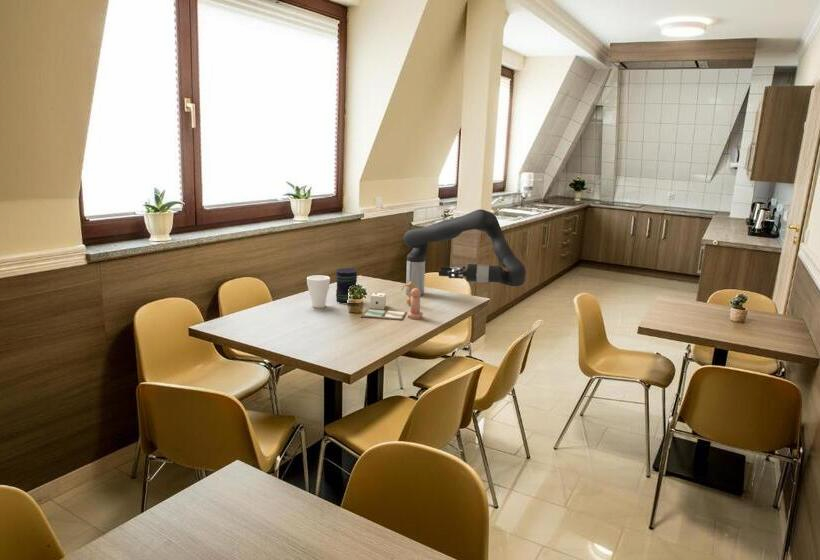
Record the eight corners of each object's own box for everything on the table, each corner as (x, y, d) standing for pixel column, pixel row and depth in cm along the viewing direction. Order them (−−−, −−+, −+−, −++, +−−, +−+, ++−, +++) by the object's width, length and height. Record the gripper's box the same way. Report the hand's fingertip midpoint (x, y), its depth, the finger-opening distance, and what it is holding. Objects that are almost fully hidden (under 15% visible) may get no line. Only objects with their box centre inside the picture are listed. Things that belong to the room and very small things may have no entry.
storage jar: (340, 297, 289) (340, 267, 286) (359, 299, 287) (359, 269, 284) (332, 302, 280) (332, 271, 277) (352, 304, 278) (352, 273, 274)
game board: (366, 310, 269) (366, 308, 269) (406, 312, 266) (406, 311, 266) (360, 317, 258) (360, 315, 257) (402, 320, 255) (402, 318, 255)
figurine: (419, 304, 281) (420, 279, 279) (418, 307, 276) (418, 282, 273) (402, 303, 283) (403, 278, 280) (400, 306, 277) (401, 281, 274)
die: (373, 305, 278) (373, 292, 276) (385, 306, 277) (386, 293, 275) (370, 308, 272) (370, 295, 270) (383, 309, 271) (383, 296, 270)
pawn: (408, 314, 264) (409, 286, 261) (423, 315, 263) (424, 286, 260) (406, 318, 257) (407, 289, 254) (421, 319, 256) (422, 290, 254)
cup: (322, 310, 267) (322, 281, 264) (302, 307, 270) (302, 278, 267) (334, 304, 276) (334, 276, 273) (314, 302, 280) (314, 274, 277)
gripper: (478, 261, 257) (441, 259, 260) (477, 267, 244) (438, 265, 246) (478, 278, 259) (441, 276, 261) (476, 285, 245) (437, 283, 248)
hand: (439, 271), depth 254 cm, fingers open, 8 cm apart
